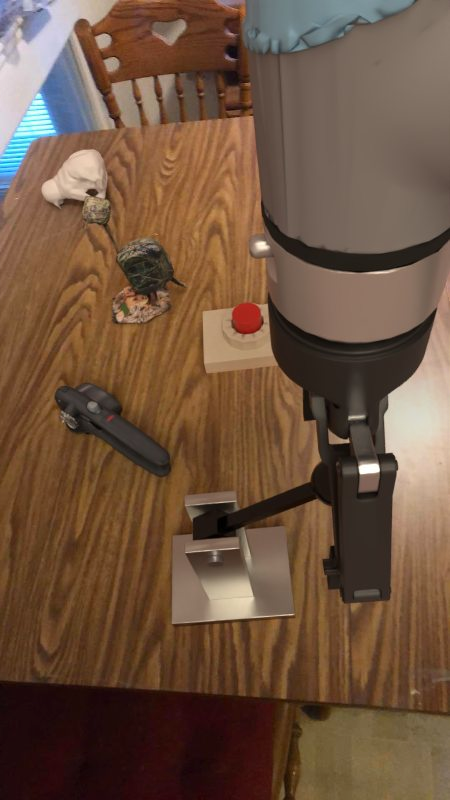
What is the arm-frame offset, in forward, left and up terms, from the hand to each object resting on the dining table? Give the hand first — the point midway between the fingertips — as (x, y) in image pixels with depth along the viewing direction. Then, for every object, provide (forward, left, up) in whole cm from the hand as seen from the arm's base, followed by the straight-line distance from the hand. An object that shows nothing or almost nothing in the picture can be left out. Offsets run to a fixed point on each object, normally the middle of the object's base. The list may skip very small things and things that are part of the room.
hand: (332, 491), depth 42 cm
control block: (+6, -31, -18) cm, 36 cm away
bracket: (+10, 0, -18) cm, 20 cm away
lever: (+4, 0, -3) cm, 5 cm away
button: (+6, -31, -14) cm, 35 cm away
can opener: (+23, -18, -18) cm, 34 cm away
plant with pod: (+20, -40, -18) cm, 48 cm away
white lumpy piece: (+33, -67, -18) cm, 77 cm away
